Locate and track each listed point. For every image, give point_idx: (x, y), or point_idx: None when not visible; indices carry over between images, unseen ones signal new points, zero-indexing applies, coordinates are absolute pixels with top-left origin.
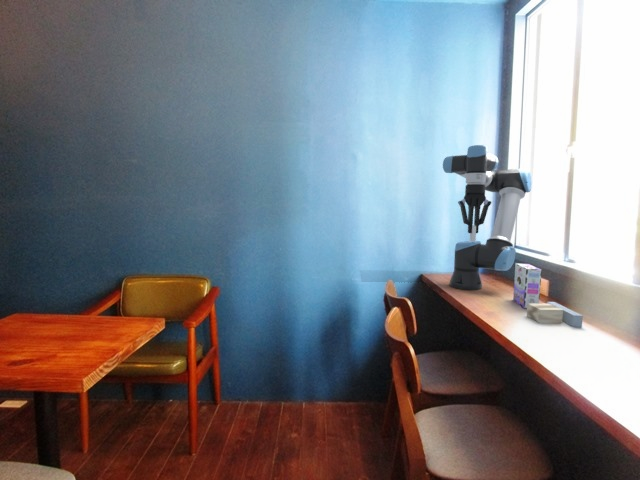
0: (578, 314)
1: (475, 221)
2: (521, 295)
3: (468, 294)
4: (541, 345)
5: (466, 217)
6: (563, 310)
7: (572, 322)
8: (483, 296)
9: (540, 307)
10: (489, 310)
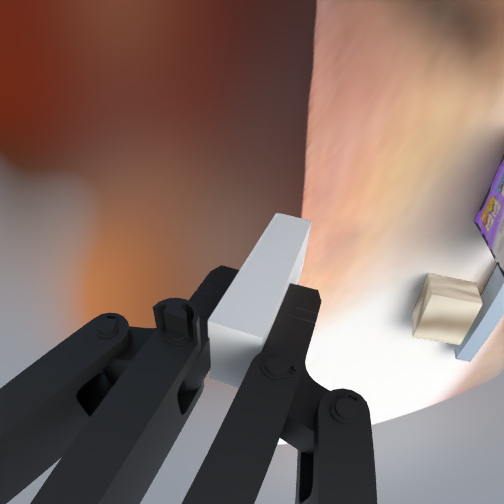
0: (470, 356)
1: (250, 408)
2: (494, 213)
3: (394, 24)
4: (319, 378)
5: (85, 422)
6: (473, 332)
7: (455, 345)
8: (439, 61)
9: (429, 326)
10: (359, 218)
